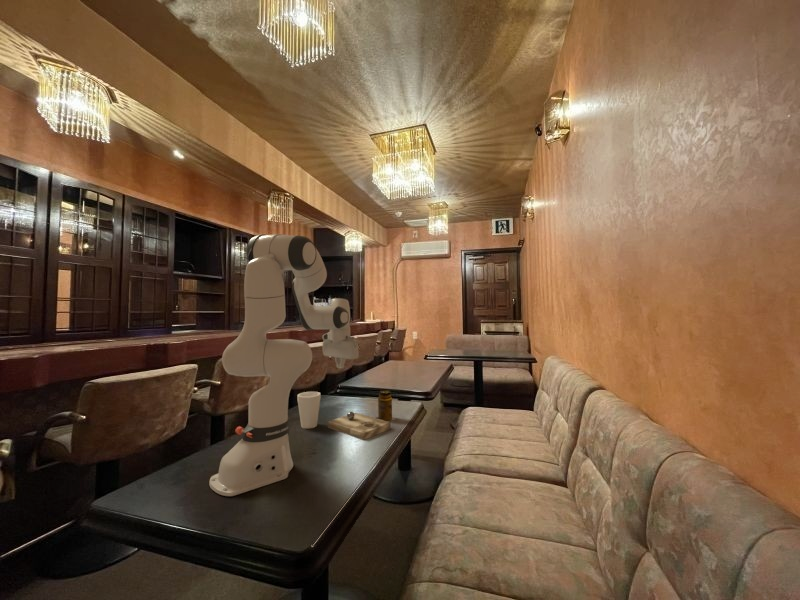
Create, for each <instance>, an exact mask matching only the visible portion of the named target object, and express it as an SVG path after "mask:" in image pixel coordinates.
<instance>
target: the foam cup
mask: <svg viewBox="0 0 800 600" xmlns="http://www.w3.org/2000/svg"><path fill="white" fill-rule="evenodd" d="M296 396H297V397H296V398H297V405H298V406H297V407H298V414H299V418H300V419H299V420H300V426H301V428H302V429H307V430H309V429H314V428H315V427H317V426H318V419H319V412H320V404H321V399H322V398H321V397H322V396H321V392H318V391H306V392H305V391H303V392H300V393H298V394H297V395H296Z"/></svg>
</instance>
